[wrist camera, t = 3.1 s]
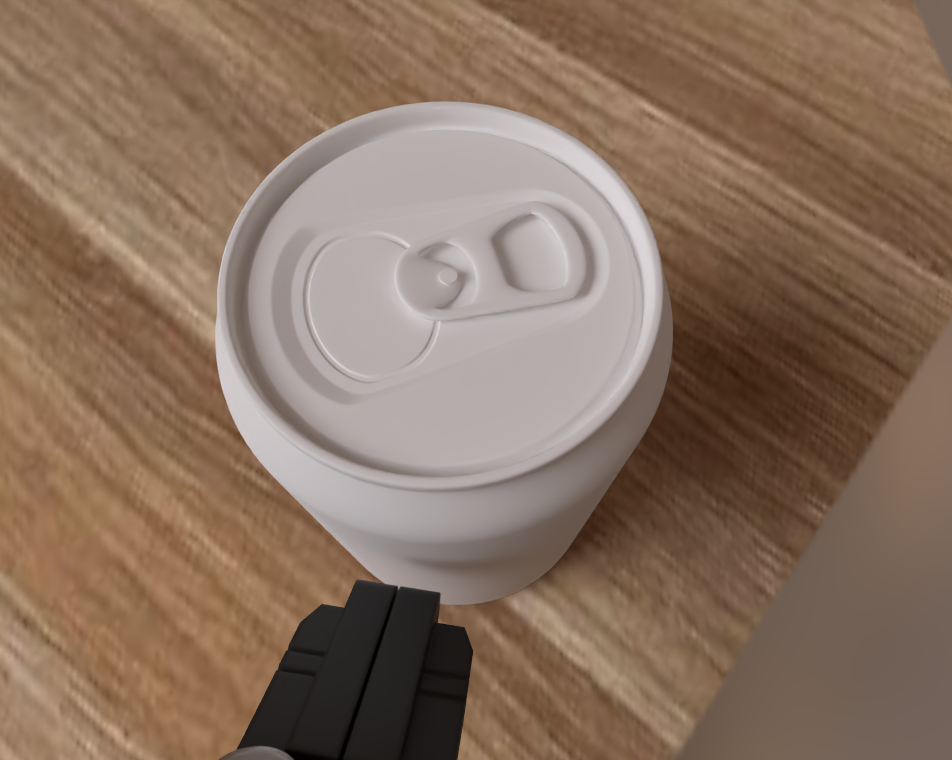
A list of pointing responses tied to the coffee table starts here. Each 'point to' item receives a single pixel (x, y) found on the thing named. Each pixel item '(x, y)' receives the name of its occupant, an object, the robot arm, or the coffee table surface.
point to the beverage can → (444, 340)
